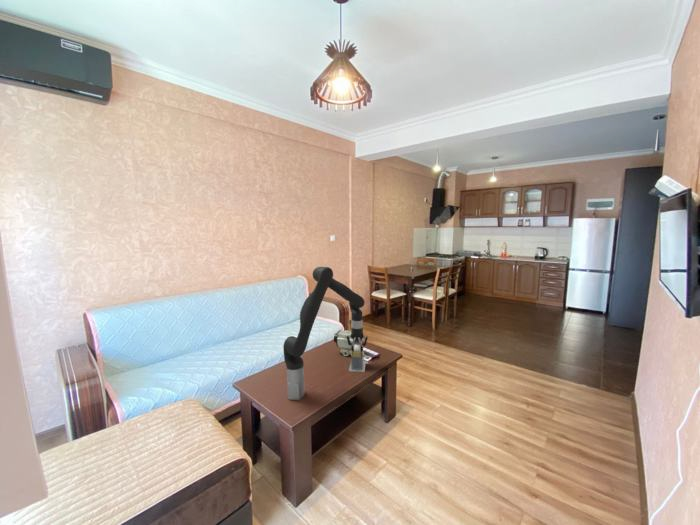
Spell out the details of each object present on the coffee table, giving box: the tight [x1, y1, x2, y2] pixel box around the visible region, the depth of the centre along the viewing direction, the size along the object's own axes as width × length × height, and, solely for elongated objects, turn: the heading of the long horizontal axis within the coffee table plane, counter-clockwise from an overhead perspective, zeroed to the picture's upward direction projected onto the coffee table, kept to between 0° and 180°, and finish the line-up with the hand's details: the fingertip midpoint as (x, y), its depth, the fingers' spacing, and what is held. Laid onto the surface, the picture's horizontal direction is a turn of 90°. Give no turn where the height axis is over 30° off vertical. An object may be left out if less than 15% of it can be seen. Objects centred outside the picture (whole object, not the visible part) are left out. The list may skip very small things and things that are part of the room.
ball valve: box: [333, 329, 355, 357], centre depth 210 cm, size 18×8×18 cm, turn 73°
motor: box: [348, 350, 367, 373], centre depth 193 cm, size 12×10×12 cm
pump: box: [354, 342, 361, 352], centre depth 192 cm, size 5×5×7 cm
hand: (357, 351), depth 192 cm, fingers closed on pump, 4 cm apart
